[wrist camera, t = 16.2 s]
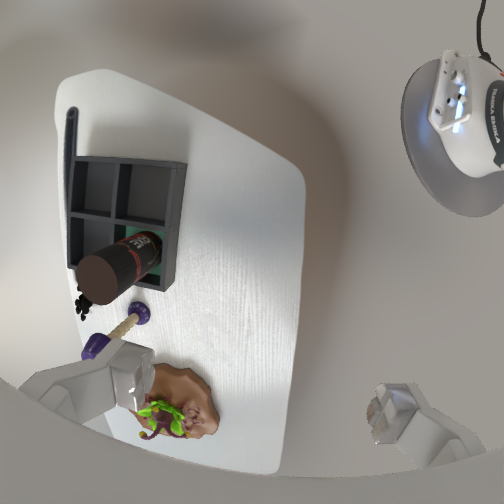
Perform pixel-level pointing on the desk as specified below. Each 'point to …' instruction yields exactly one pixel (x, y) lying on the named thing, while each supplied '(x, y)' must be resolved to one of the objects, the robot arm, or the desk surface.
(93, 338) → the toy lamp
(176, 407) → the plant
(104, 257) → the deodorant
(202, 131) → the desk surface
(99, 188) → the compartment tray
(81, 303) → the wireless earbuds
